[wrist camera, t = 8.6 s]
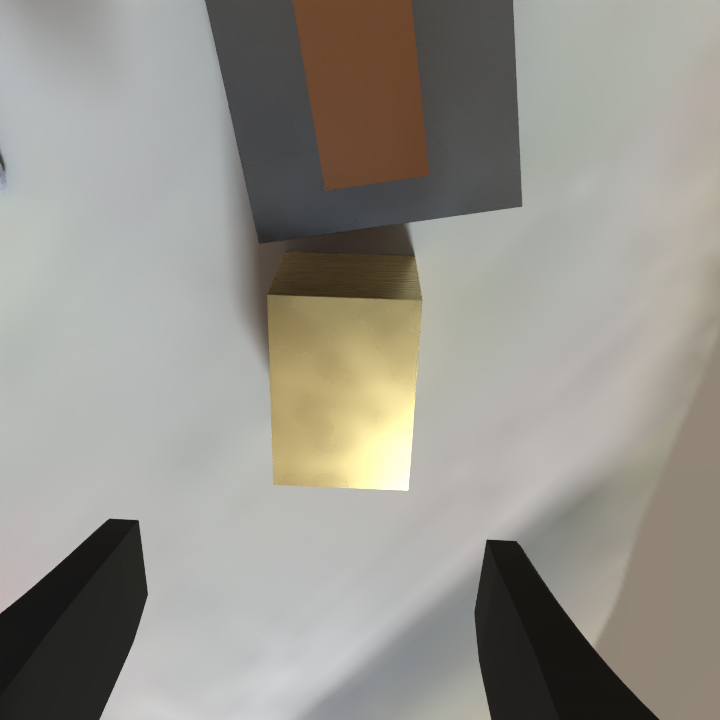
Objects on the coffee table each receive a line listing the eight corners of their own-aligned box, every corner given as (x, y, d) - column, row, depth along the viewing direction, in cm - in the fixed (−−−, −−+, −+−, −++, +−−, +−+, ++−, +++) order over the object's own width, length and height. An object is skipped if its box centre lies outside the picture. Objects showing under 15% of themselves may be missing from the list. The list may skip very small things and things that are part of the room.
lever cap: (289, 416, 23) (273, 484, 20) (286, 250, 21) (267, 295, 17) (403, 420, 23) (408, 490, 20) (414, 254, 21) (422, 300, 17)
